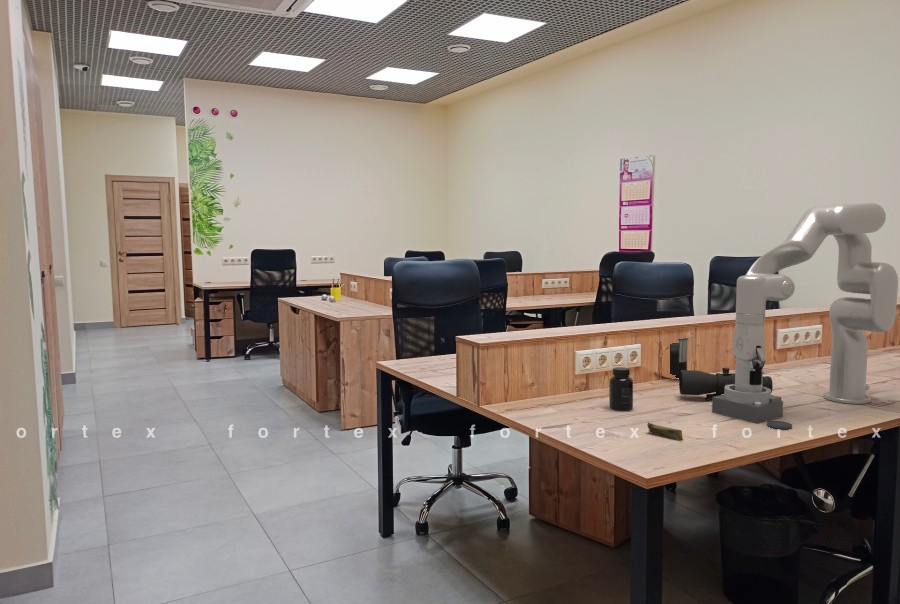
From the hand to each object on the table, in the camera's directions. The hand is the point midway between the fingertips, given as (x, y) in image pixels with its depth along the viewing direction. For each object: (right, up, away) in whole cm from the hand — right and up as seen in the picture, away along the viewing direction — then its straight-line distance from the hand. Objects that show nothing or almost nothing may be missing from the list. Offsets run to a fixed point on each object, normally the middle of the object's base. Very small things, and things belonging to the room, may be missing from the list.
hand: (748, 381), depth 185 cm
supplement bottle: (-34, -9, +9) cm, 36 cm away
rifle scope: (+1, -8, +18) cm, 20 cm away
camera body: (0, -10, +1) cm, 10 cm away
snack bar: (-30, -12, -19) cm, 38 cm away
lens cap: (+3, -11, -11) cm, 16 cm away
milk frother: (0, -5, +49) cm, 49 cm away
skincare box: (0, -4, 0) cm, 4 cm away
